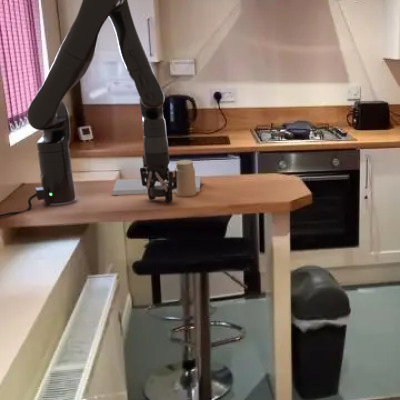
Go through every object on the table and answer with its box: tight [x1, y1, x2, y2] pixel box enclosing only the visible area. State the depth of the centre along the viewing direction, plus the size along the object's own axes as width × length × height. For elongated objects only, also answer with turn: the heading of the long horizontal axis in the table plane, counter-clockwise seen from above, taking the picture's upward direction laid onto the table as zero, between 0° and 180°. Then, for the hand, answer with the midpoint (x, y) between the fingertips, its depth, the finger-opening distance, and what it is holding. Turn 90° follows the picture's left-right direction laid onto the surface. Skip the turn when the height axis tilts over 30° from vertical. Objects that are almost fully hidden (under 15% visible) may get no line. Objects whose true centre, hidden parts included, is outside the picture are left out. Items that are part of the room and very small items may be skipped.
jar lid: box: [150, 185, 168, 198], centre depth 192 cm, size 7×7×2 cm
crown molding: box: [112, 176, 203, 196], centre depth 209 cm, size 29×12×4 cm, turn 97°
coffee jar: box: [174, 159, 197, 197], centre depth 200 cm, size 6×6×11 cm
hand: (160, 200), depth 192 cm, fingers closed on jar lid, 6 cm apart
